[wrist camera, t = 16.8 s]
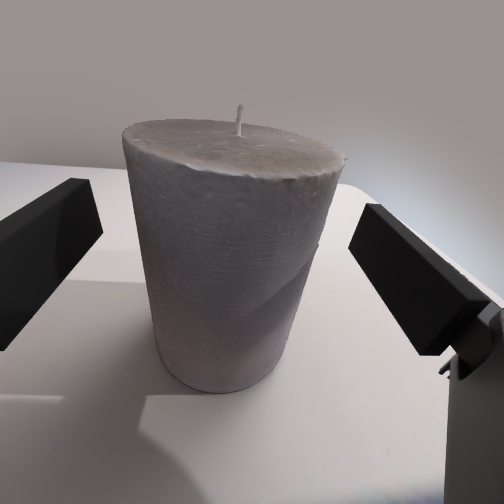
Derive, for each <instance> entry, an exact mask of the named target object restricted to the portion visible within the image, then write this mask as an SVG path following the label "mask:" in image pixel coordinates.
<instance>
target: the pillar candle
mask: <svg viewBox="0 0 504 504" xmlns="http://www.w3.org/2000/svg"><path fill="white" fill-rule="evenodd" d="M243 108H244V104H240V105H239V106H238V111H237V118H236V123H235V122H225V121H213V120H191V119H166V120H156V121H147V122H141V123H136V124H134V125H131V126H129V127H128V128H126V129H125V130H124V131H123V134H122V144H123V150H124V154H125V159H126V164H127V171H128V178H129V183H130V191H131V196H132V202H133V209H134V214H135V220H136V225H137V232H138V238H139V244H140V250H141V256H142V262H143V268H144V273H145V279H146V285H147V291H148V297H149V302H150V309H151V314H152V321H153V326H154V332H155V338H156V344H157V349H158V353H159V355H160V358H161V361H162V362H163V364H164V365H165V367H166V368H167V370H168V371H169V372H170V373H171V374H172V375H173V376H174V377H175V378H177V379H178V380H179V381H181V382H182V383H184V384H185V385H188V386H190V387H192V388H194V389H197V390H201V391H205V392H210V393H230V392H234V391H240V390H243V389H246V388H248V387H250V386H252V385H254V384H255V383H257V382H258V381H259V380H261V379H262V378H263V377H264V376H265V375H267V374H268V373H269V372H270V371H271V370H272V369H273V368H274V366H275V365H276V364H277V362H278V361H279V359H280V357H281V355H282V353H283V351H284V348H285V344H286V341H287V339H288V336H289V332H290V329H291V326H292V323H293V320H294V318H295V314H296V312H297V309H298V305H299V303H300V299H301V296H302V292H303V289H304V286H305V283H306V280H307V277H308V273H309V270H310V267H311V264H312V261H313V257H314V255H315V252H316V250H317V248H318V246H319V244H318V242H319V239H320V236H321V233H322V231H323V228H324V225H325V221H326V217H327V214H328V210H329V207H330V205H331V202H332V199H333V196H334V193H335V190H336V186H337V182H338V179H339V177H340V174H341V171H342V169H343V167H344V161H345V160H346V159H347V158H346V156H345V155H344V154H343V153H341V152H339V151H336V150H334V149H333V148H332V147H330V146H327V145H325V144H323V143H321V142H319V141H316V140H313V139H311V138H308V137H305V136H302V135H298V134H295V133H291V132H288V131H283V130H279V129H274V128H270V127H262V126H258V125H257V126H256V125H250V124H242V123H241V120H242V116H243Z"/></svg>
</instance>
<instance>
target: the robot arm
mask: <svg viewBox="0 0 504 504" xmlns="http://www.w3.org/2000/svg"><path fill="white" fill-rule="evenodd" d="M102 234H103V229H102V226H101V222H100V218H99V215H98V211H97V207H96V204H95V200H94V196H93V192H92V189H91V185H90V181H89V179H78V178H69V179H68V180H66V181H65V182H63V183H61V184H60V185H58V186H56V187H55V188H53V189H52V190H50V191H48V192H47V193H45V194H43V195H42V196H40V197H39V198H37V199H35V200H34V201H32V202H30V203H29V204H27V205H26V206H24V207H22V208H21V209H19V210H17V211H16V212H14V213H13V214H11V215H9V216H8V217H6V218H4V219H3V220H1V221H0V351H4V350H5V349H6V348H7V347H8V346H9V344H10V343H11V342H12V341H13V340H14V338H15V337H16V336H17V335H18V334H19V332H20V331H21V330H22V329H23V328H24V327H25V325H26V324H27V323H28V322H29V321H30V319H31V318H32V317H33V316H34V315H35V313H36V312H37V311H38V310H39V309H40V307H41V306H42V305H43V304H44V303H45V302H46V300H47V299H48V298H49V297H50V296H51V294H52V293H53V292H54V291H55V290H56V288H57V287H58V286H59V285H60V284H61V283H62V281H63V280H64V279H65V278H66V277H67V275H68V274H69V273H70V272H71V271H72V269H73V268H74V267H75V266H76V265H77V263H78V262H79V261H80V260H81V259H82V258H83V256H84V255H85V254H86V253H87V252H88V250H89V249H90V248H91V247H92V246H93V244H94V243H95V242H96V241H97V240H98V239H99V237H100V236H101V235H102ZM348 249H349V250H350V252H351V253H352V255H353V256H354V258H355V259H356V261H357V262H358V264H359V265H360V267H361V268H362V270H363V271H364V273H365V274H366V276H367V277H368V279H369V280H370V282H371V283H372V285H373V286H374V288H375V289H376V291H377V292H378V294H379V295H380V297H381V298H382V300H383V301H384V303H385V304H386V306H387V307H388V309H389V310H390V312H391V313H392V315H393V316H394V318H395V319H396V321H397V322H398V324H399V325H400V327H401V328H402V330H403V331H404V333H405V334H406V336H407V337H408V339H409V340H410V342H411V343H412V345H413V346H414V348H415V349H416V351H417V352H418V354H419V355H420V356H440V355H441V354H442V353H443V352H444V351H445V350H446V348H447V347H448V346H449V345H451V347H452V348H453V349H454V350H455V352H456V354H455V355H454V356H453V357H452V358H451V359H450V360H449V361H448V362H447V363H446V364H445V365H444V366H443V367H442V368H441V369H440V371H439V374H441V375H443V374H444V373H445V372H446V371H448V370H450V375H449V376H448V377H447V378H448V379H450V384H449V404H448V424H447V444H446V465H445V485H444V504H504V308H501V307H499V306H498V305H497V304H496V303H495V302H494V301H492V300H491V299H490V298H489V297H488V296H487V295H486V294H484V293H483V292H482V291H481V290H480V289H479V288H477V287H476V286H475V285H474V284H473V283H472V282H470V281H468V279H467V278H466V277H465V276H464V275H462V274H460V272H459V271H458V270H457V269H455V268H454V267H453V266H452V265H451V264H450V263H448V262H446V261H445V260H444V259H443V258H442V257H440V256H439V255H438V254H437V253H436V252H435V251H434V250H432V249H431V248H430V247H429V246H428V245H427V244H425V243H424V242H423V241H422V240H421V239H420V238H419V237H417V236H416V235H415V234H414V233H413V232H412V231H410V230H409V229H408V228H407V227H406V226H405V225H404V224H402V223H401V222H400V221H399V220H398V219H397V218H396V217H394V216H393V215H392V214H391V213H390V212H389V211H387V210H386V209H385V208H384V207H383V206H382V205H381V204H370V203H366V205H365V208H364V210H363V213H362V215H361V217H360V220H359V222H358V225H357V227H356V230H355V232H354V235H353V237H352V240H351V242H350V244H349V247H348Z"/></svg>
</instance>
